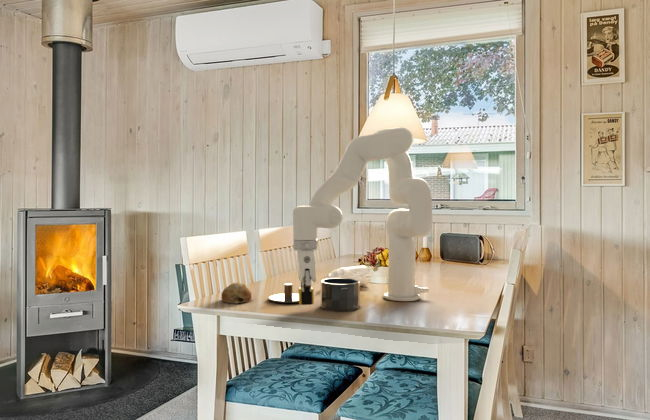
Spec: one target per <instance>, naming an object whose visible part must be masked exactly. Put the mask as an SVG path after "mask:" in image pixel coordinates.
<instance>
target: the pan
mask: <svg viewBox="0 0 650 420" xmlns="http://www.w3.org/2000/svg"><path fill="white" fill-rule="evenodd" d="M360 287H361V286H360V281H359V280H355V279H349V278H329V279H325V278H324V279H322V280H321V281H320V308H321V309H323V310H326V311H329V312H330V311H331V312H351V311H356V310H358V309H360V303H361V302H360V300H361V299H360V297H361V296H360V292H361V291H360V290H361V288H360Z"/></svg>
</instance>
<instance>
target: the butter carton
mask: <svg viewBox="0 0 650 420" xmlns="http://www.w3.org/2000/svg"><path fill="white" fill-rule="evenodd" d="M301 292H302V287H301V286H299V287H298V294H299V302H298V304H299V305H300V306H303V305H302V297H301ZM311 292H312V304H311V305H314V303H315V302H314V301H315V300H314V299H315V297H314V288H313V286H311Z"/></svg>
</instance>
